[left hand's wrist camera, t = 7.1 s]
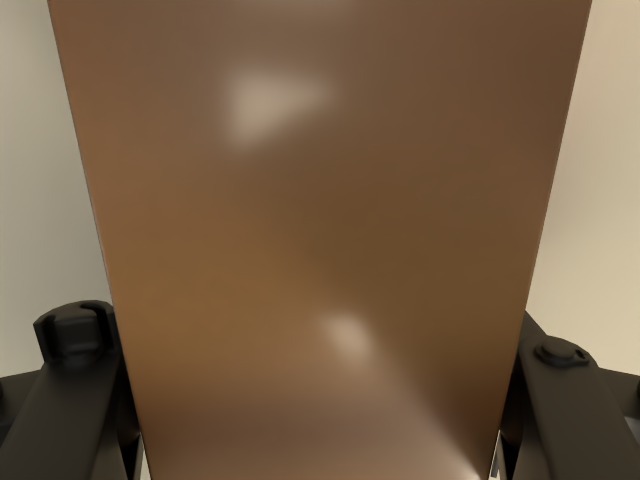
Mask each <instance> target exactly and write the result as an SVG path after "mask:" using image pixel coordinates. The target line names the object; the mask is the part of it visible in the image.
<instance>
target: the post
mask: <svg viewBox="0 0 640 480" xmlns="http://www.w3.org/2000/svg"><path fill="white" fill-rule="evenodd" d="M47 3H48V7H49V12H50V17H51V21H52V26H53V30H54V35H55V40H56V44H57V49H58V53H59V58H60V63H61V67H62V72H63V76H64V81H65V86H66V90H67V95H68V100H69V104H70V109H71V113H72V118H73V123H74V127H75V132H76V136H77V141H78V146H79V150H80V155H81V159H82V164H83V169H84V173H85V178H86V182H87V187H88V192H89V196H90V201H91V206H92V210H93V215H94V219H95V224H96V229H97V233H98V238H99V242H100V247H101V252H102V256H103V261H104V265H105V270H106V275H107V279H108V284H109V288H110V293H111V298H112V302H113V307H114V311H115V316H116V321H117V325H118V330H119V335H120V339H121V344H122V348H123V353H124V358H125V362H126V367H127V371H128V376H129V381H130V385H131V390H132V394H133V399H134V404H135V408H136V413H137V417H138V422H139V427H140V431H141V436H142V441H143V445H144V450H145V454H146V459H147V464H148V468H149V473H150V477H151V480H488V479H489V474H490V470H491V465H492V460H493V456H494V451H495V447H496V442H497V437H498V433H499V428H500V424H501V419H502V414H503V410H504V405H505V400H506V396H507V391H508V387H509V382H510V377H511V373H512V368H513V364H514V359H515V354H516V350H517V345H518V340H519V336H520V331H521V327H522V322H523V317H524V313H525V308H526V304H527V299H528V294H529V290H530V285H531V280H532V276H533V271H534V267H535V262H536V257H537V253H538V248H539V243H540V239H541V234H542V230H543V225H544V220H545V216H546V211H547V207H548V202H549V197H550V193H551V188H552V183H553V179H554V174H555V170H556V165H557V160H558V156H559V151H560V147H561V142H562V137H563V133H564V128H565V123H566V119H567V114H568V110H569V105H570V100H571V96H572V91H573V87H574V82H575V77H576V73H577V68H578V63H579V59H580V54H581V50H582V45H583V40H584V36H585V31H586V27H587V22H588V17H589V13H590V8H591V3H592V0H47Z"/></svg>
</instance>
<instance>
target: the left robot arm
mask: <svg viewBox="0 0 640 480" xmlns="http://www.w3.org/2000/svg"><path fill="white" fill-rule="evenodd" d="M33 326H34V330H35V333H36V336H37V339H38V343H39V346H40V349H41V352H42V356H43V359H44V364H43V366H42V368H41V369H40V370H36V371H32V372H27V373H22V374H17V375H12V376H7V377H2V378H0V480H140V475H141V467H142V459H143V451H144V449H143V442H142V437H141V431H140V427H139V422H138V417H137V413H136V408H135V404H134V399H133V394H132V390H131V385H130V381H129V376H128V371H127V367H126V362H125V358H124V353H123V348H122V344H121V339H120V335H119V330H118V325H117V321H116V316H115V312H114V308H113V306H112V305H110V304H109V303H108V302H104V301H99V300H86V301H79V302H74V303H69V304H66V305H63V306H60V307H58V308H55V309H52V310H51V311H49V312H47V313H45V314H44V315H42V316H40V317H39V318H38V319H37V320H36V321H35V322H34V323H33ZM499 430H500V432H499V437H498V442H497V446H496V451H495V455H494V460H493V465H492V470H491V477H495V478H496V477H497V473H498V469H499V474H500V480H640V376H638V375H633V374H628V373H623V372H618V371H612V370H607V369H603V368H599V367H598V365H597V363H596V361H595V360H594V359H593V358H592V356H591V355H590V354H589V353H588V352H587V351H585V350H584V349H582V348H581V347H579V346H578V345H576V344H574V343H571V342H569V341H567V340H564V339H561V338H557V337H553V336H549V335H546V333H545V332H544V331H543V330H542V329H541V328H540V327H539V325H538V324H537V323H536V322H535V321H534V320H533V318H532V317H531V316H530V315H529V314H528V313H527V312H526V310H525V313H524V317H523V322H522V327H521V331H520V336H519V340H518V345H517V350H516V354H515V359H514V364H513V368H512V373H511V377H510V382H509V387H508V391H507V396H506V400H505V405H504V410H503V414H502V419H501V424H500V428H499Z"/></svg>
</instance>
